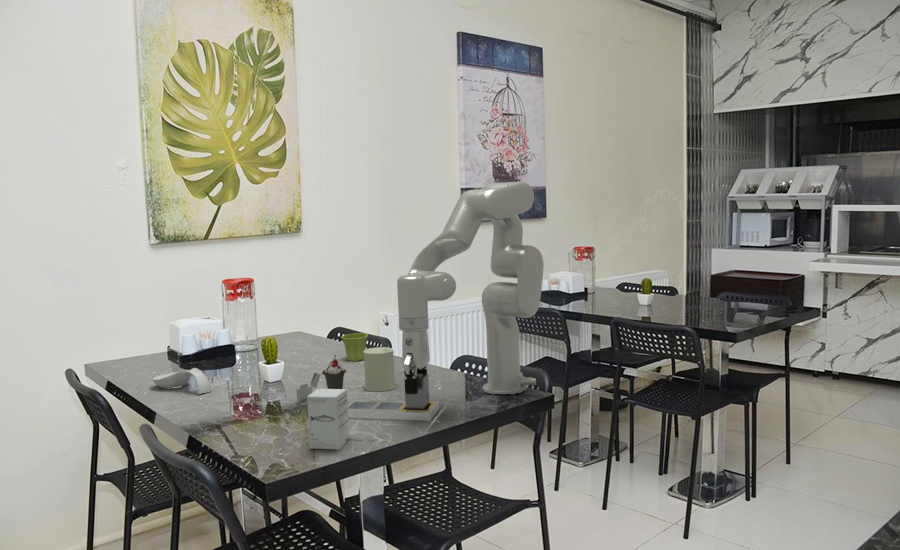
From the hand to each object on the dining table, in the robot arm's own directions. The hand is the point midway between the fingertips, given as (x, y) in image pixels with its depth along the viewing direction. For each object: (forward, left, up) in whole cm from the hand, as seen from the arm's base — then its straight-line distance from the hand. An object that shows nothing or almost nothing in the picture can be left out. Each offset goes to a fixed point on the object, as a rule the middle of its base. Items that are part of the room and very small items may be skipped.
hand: (416, 388), depth 188 cm
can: (+19, -29, -8) cm, 36 cm away
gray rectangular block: (0, 0, -7) cm, 7 cm away
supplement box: (+15, +22, -8) cm, 28 cm away
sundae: (+25, -8, -8) cm, 28 cm away
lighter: (+35, -13, -8) cm, 39 cm away
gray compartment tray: (+7, 0, -8) cm, 11 cm away
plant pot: (+40, -66, -8) cm, 78 cm away
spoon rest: (+82, -23, -8) cm, 86 cm away
